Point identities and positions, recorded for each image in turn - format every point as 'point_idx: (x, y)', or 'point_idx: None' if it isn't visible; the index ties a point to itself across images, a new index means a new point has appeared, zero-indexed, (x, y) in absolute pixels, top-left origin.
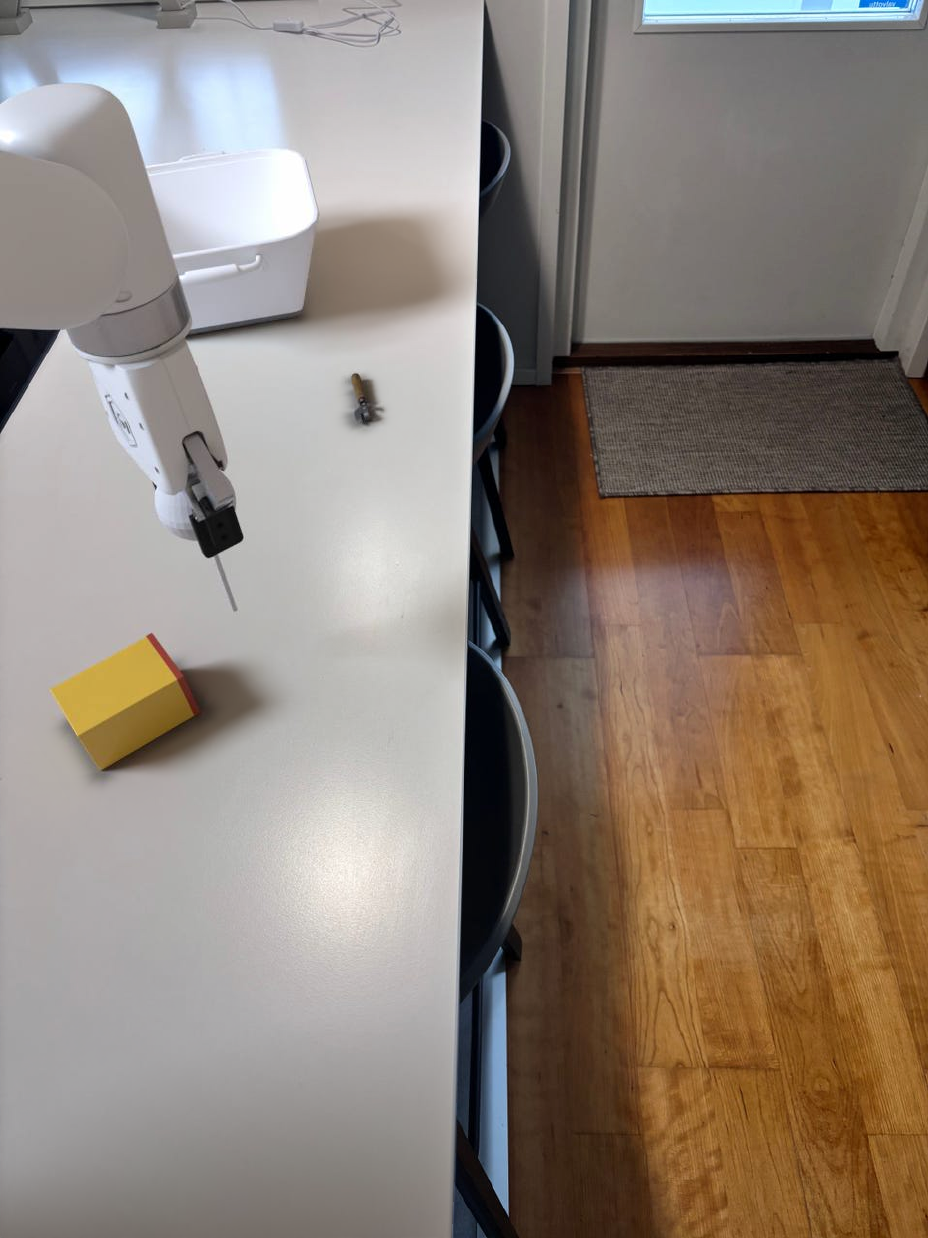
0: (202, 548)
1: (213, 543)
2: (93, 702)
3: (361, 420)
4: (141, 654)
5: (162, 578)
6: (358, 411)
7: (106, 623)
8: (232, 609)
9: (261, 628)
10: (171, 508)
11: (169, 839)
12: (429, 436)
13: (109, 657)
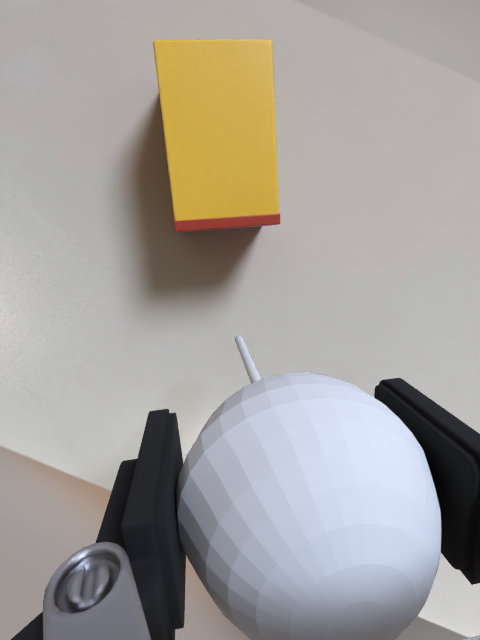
0: (146, 429)
1: (131, 466)
2: (204, 91)
3: None
4: (250, 194)
5: (398, 273)
6: None
7: (380, 187)
8: (237, 337)
9: (256, 339)
10: (254, 468)
11: (14, 120)
12: None
13: (274, 150)
